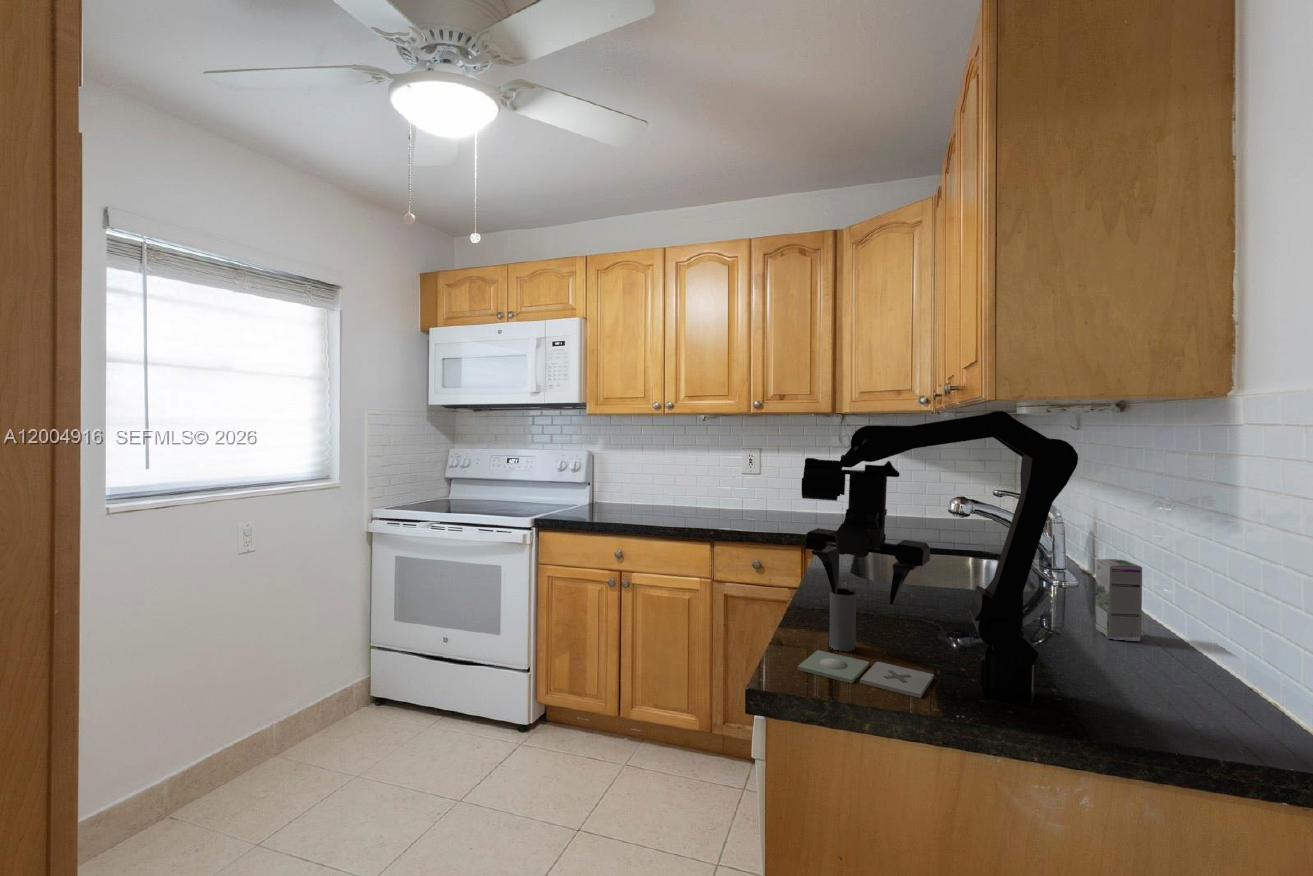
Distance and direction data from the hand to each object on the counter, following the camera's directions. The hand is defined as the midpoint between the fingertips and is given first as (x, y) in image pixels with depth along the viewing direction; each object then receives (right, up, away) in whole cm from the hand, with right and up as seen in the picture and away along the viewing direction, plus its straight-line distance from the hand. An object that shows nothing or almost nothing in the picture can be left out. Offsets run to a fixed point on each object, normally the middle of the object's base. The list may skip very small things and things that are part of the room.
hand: (862, 598), depth 102 cm
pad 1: (-4, -12, +3) cm, 13 cm away
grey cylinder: (0, -12, +12) cm, 17 cm away
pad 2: (+5, -13, -2) cm, 14 cm away
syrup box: (+56, -13, +20) cm, 60 cm away
